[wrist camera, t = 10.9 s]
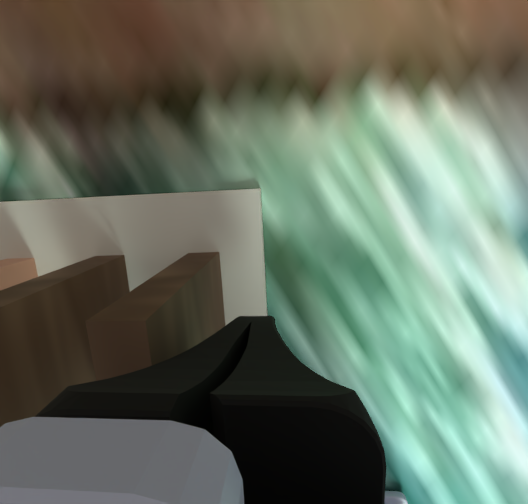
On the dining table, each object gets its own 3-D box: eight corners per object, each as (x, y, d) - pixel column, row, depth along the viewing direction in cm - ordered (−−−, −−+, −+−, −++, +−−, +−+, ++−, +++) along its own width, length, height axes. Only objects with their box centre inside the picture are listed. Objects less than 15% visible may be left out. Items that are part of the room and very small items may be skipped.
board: (260, 188, 15) (259, 188, 15) (271, 387, 17) (270, 393, 17) (-177, 210, 18) (-190, 211, 17) (-117, 382, 20) (-127, 387, 19)
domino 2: (219, 251, 16) (145, 321, 8) (226, 343, 17) (169, 484, 9) (188, 252, 16) (85, 321, 8) (197, 343, 17) (115, 482, 9)
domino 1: (124, 255, 16) (-35, 322, 8) (137, 343, 17) (7, 477, 9) (95, 255, 16) (-88, 322, 8) (110, 343, 17) (-41, 475, 9)
